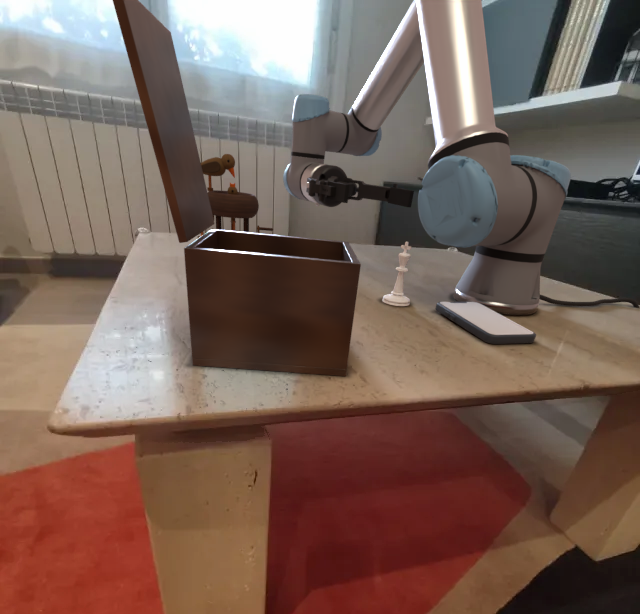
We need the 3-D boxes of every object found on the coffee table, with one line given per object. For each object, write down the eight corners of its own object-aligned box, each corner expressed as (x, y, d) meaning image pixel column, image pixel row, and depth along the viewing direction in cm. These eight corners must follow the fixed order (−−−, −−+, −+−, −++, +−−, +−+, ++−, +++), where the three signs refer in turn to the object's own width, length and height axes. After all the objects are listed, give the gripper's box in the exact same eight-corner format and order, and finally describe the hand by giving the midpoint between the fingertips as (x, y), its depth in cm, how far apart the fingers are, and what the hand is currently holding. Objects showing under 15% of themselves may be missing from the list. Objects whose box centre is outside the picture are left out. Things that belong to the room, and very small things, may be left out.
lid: (170, 31, 41) (162, 32, 41) (118, -21, 30) (107, -19, 30) (214, 224, 50) (208, 225, 50) (187, 242, 39) (179, 243, 39)
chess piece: (403, 308, 72) (415, 245, 67) (377, 301, 74) (387, 240, 69) (413, 302, 76) (426, 243, 71) (388, 296, 78) (399, 238, 73)
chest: (337, 334, 58) (348, 241, 52) (345, 376, 46) (360, 264, 40) (215, 324, 57) (211, 228, 50) (192, 365, 45) (183, 247, 39)
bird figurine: (195, 281, 74) (185, 146, 65) (191, 272, 84) (183, 153, 74) (279, 282, 79) (281, 157, 70) (267, 274, 88) (268, 161, 79)
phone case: (537, 345, 62) (474, 310, 75) (541, 335, 62) (477, 301, 74) (487, 346, 60) (431, 310, 72) (490, 336, 59) (433, 300, 72)
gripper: (371, 208, 97) (430, 222, 81) (269, 201, 86) (314, 216, 71) (376, 170, 93) (439, 178, 77) (270, 158, 82) (318, 164, 67)
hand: (380, 196), depth 74 cm, fingers open, 13 cm apart
